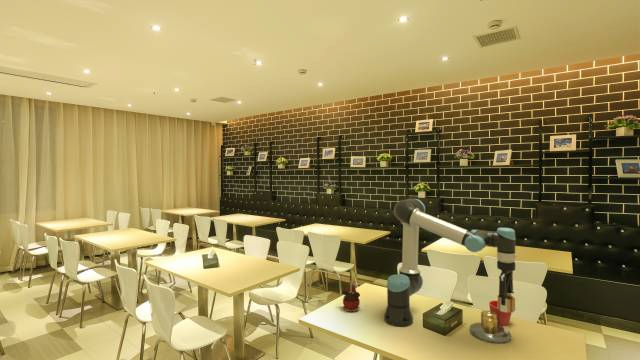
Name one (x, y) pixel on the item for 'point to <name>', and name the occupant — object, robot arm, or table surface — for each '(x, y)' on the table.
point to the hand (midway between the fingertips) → (506, 308)
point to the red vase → (351, 298)
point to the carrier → (490, 329)
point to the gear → (508, 303)
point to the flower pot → (500, 314)
